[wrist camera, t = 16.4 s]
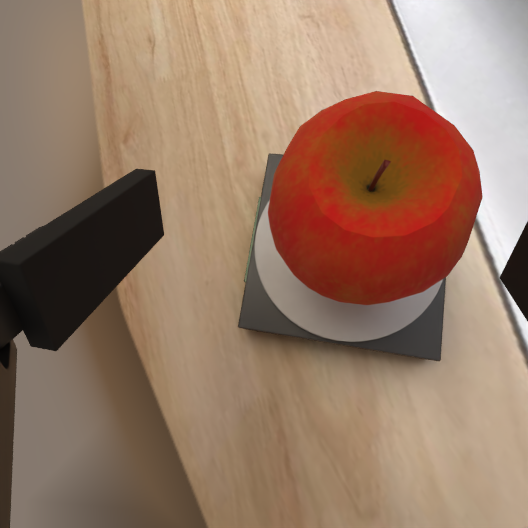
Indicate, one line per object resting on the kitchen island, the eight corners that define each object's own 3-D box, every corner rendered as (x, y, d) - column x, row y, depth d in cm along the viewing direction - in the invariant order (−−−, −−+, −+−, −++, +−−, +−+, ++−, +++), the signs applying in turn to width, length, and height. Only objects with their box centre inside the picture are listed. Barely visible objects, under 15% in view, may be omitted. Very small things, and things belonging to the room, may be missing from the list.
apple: (270, 192, 23) (240, 64, 12) (403, 171, 22) (493, 15, 11) (288, 324, 21) (270, 307, 10) (434, 306, 20) (577, 267, 10)
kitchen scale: (240, 328, 24) (231, 326, 21) (268, 169, 26) (264, 147, 23) (426, 359, 22) (444, 362, 19) (438, 186, 25) (456, 165, 22)
